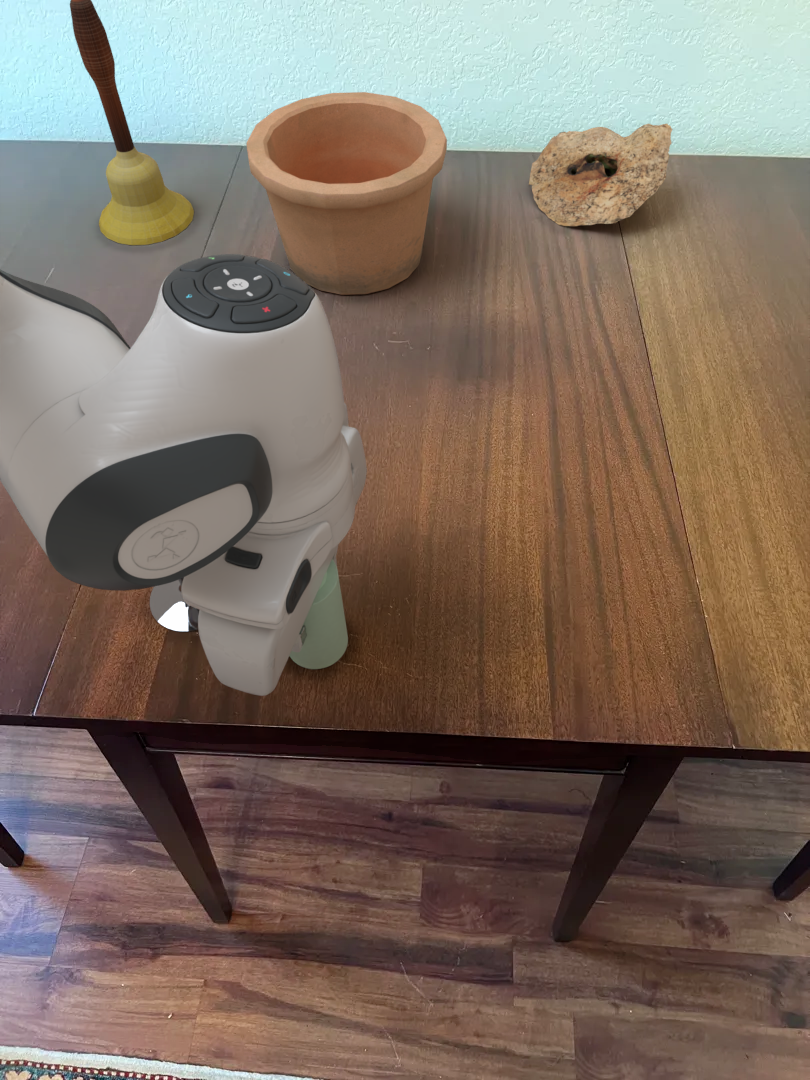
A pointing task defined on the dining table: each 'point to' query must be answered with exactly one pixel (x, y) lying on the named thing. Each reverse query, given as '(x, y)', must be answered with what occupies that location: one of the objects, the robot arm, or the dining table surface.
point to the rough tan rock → (599, 174)
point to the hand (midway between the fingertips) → (309, 607)
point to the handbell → (126, 152)
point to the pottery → (349, 186)
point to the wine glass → (173, 608)
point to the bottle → (324, 626)
